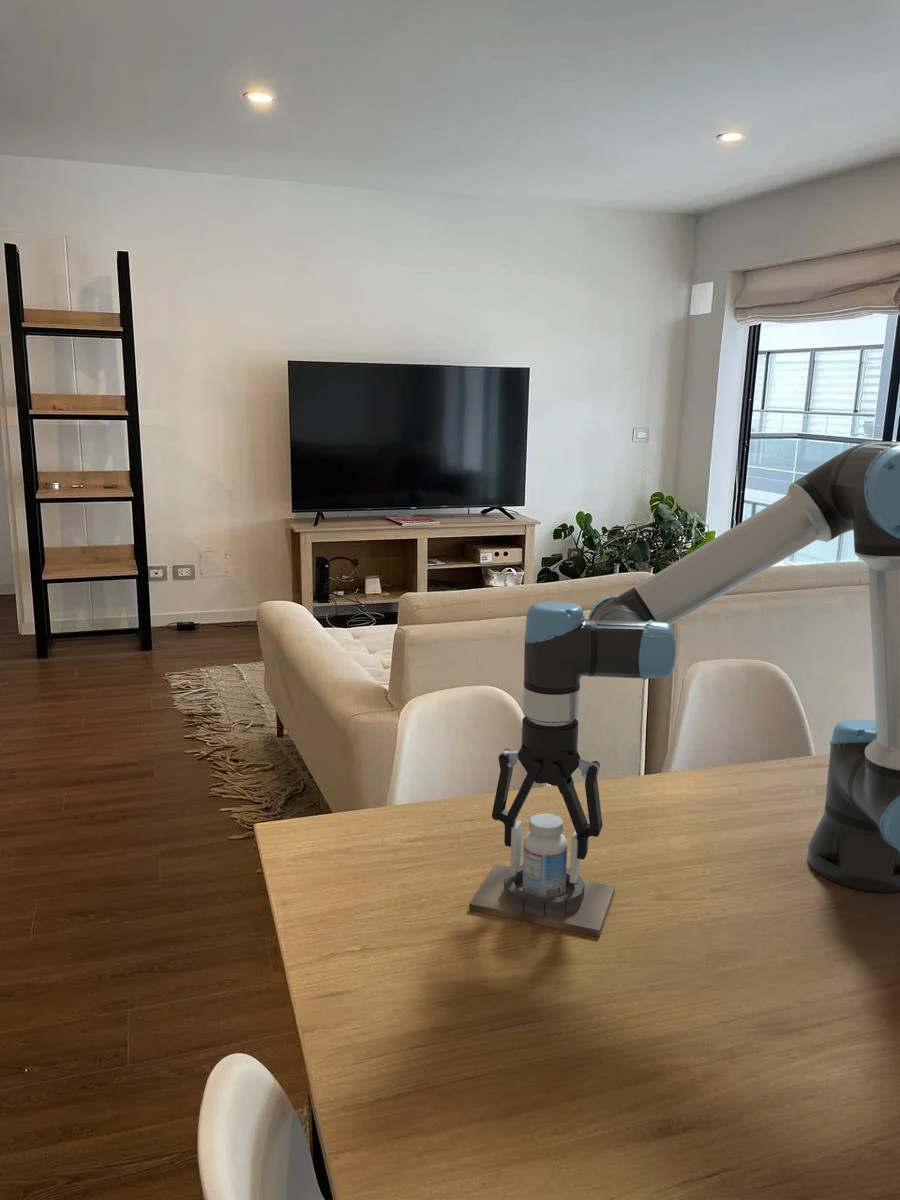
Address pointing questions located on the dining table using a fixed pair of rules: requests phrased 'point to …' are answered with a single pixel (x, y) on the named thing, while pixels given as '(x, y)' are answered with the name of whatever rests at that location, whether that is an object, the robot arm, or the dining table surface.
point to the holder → (544, 902)
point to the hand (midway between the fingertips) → (544, 872)
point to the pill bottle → (545, 857)
